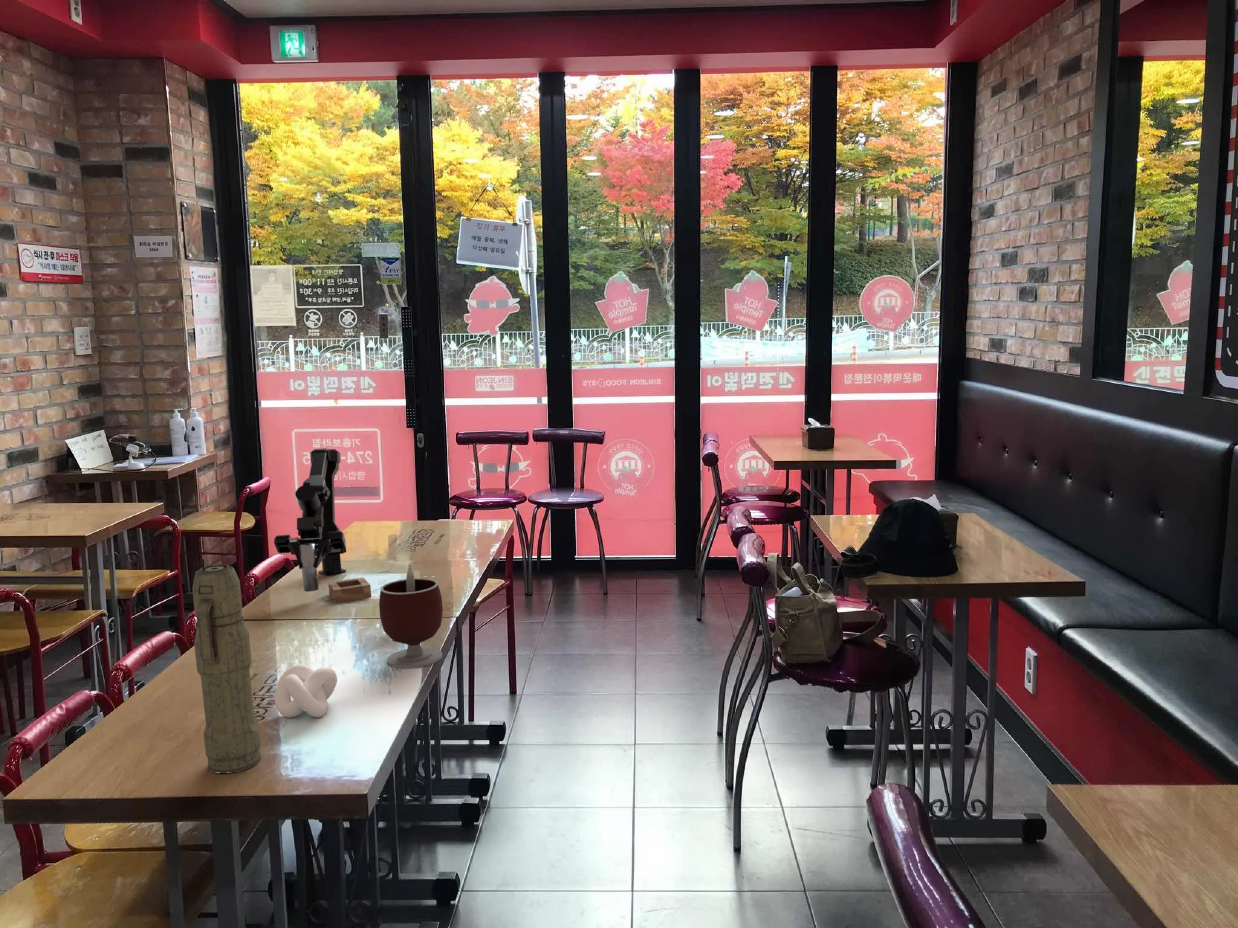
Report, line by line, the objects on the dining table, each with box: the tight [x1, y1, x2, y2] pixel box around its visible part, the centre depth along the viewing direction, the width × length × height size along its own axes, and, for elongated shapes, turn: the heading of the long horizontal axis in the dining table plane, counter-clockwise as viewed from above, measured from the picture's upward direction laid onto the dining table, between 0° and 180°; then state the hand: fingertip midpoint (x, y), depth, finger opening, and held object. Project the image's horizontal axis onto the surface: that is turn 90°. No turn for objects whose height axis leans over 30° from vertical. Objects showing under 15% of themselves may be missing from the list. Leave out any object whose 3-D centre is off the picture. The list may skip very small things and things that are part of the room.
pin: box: [300, 543, 319, 593], centre depth 271 cm, size 4×4×13 cm
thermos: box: [192, 564, 262, 773], centre depth 167 cm, size 9×12×35 cm
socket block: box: [327, 577, 372, 603], centre depth 277 cm, size 10×10×4 cm
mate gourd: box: [378, 563, 444, 669], centre depth 220 cm, size 16×14×20 cm
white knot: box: [274, 663, 338, 718], centre depth 190 cm, size 11×12×9 cm
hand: (308, 567), depth 270 cm, fingers closed on pin, 4 cm apart
